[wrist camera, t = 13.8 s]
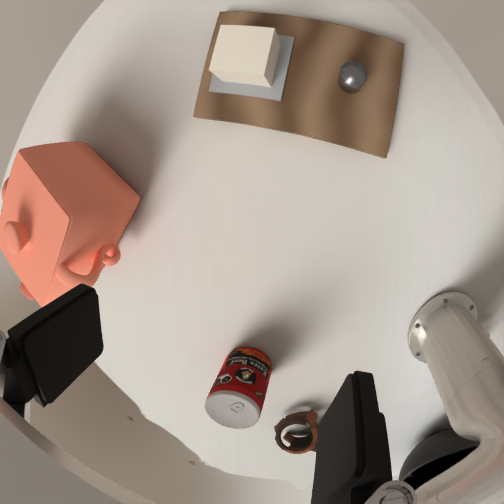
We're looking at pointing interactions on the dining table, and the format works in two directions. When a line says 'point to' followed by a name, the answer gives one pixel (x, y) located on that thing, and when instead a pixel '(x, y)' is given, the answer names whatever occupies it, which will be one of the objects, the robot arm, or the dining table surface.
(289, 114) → the base board
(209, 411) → the canned food
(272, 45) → the cream cube
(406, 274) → the dining table surface
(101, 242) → the teapot
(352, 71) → the post
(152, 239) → the dining table surface
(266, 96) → the pad
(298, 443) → the pottery mug
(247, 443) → the dining table surface
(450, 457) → the coal bowl
